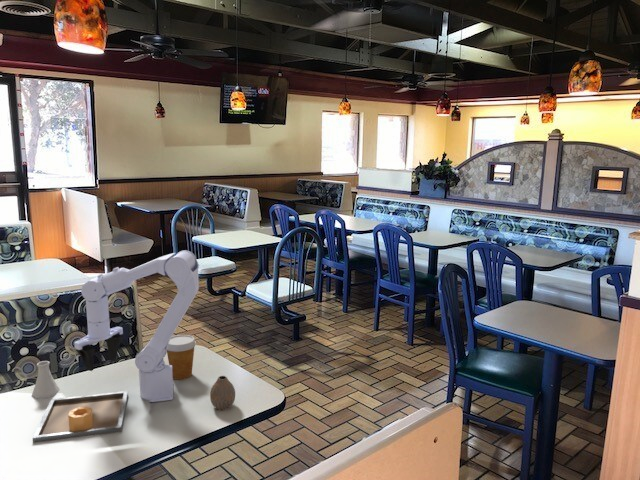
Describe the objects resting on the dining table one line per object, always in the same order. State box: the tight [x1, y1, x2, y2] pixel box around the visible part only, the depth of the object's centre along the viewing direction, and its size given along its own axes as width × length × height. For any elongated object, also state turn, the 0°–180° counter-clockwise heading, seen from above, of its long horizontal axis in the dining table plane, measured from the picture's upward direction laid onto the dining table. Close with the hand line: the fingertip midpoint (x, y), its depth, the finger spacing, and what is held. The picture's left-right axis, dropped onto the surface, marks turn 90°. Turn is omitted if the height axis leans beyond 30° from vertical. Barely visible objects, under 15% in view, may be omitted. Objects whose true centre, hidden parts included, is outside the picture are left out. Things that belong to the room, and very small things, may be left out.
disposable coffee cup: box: [166, 334, 197, 381], centre depth 162 cm, size 10×10×12 cm
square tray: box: [32, 390, 129, 444], centre depth 137 cm, size 20×20×1 cm
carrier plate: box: [33, 397, 126, 444], centre depth 137 cm, size 20×20×1 cm
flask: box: [31, 360, 61, 399], centre depth 149 cm, size 7×7×10 cm
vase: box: [209, 375, 236, 411], centre depth 144 cm, size 7×7×9 cm
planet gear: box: [68, 406, 93, 431], centre depth 132 cm, size 5×5×4 cm
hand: (101, 364), depth 148 cm, fingers open, 7 cm apart
